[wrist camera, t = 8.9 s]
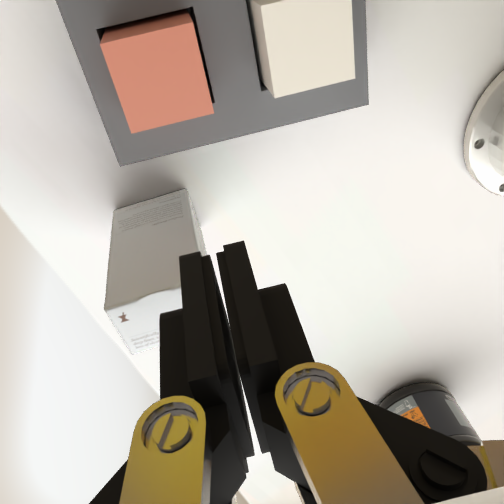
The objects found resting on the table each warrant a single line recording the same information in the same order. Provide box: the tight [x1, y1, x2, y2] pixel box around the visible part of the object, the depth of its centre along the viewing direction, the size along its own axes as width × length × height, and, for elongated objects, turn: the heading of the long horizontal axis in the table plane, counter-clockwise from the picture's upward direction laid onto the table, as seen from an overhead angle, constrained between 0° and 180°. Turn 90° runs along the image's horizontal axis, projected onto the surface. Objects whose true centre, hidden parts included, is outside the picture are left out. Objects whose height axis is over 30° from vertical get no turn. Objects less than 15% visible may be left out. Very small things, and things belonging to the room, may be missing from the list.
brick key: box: [100, 9, 214, 134], centre depth 26 cm, size 5×5×4 cm
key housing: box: [56, 0, 369, 166], centre depth 28 cm, size 16×10×5 cm, turn 100°
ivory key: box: [246, 0, 355, 98], centre depth 26 cm, size 5×5×4 cm
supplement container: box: [379, 383, 482, 446], centre depth 54 cm, size 10×10×12 cm
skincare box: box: [104, 189, 207, 355], centre depth 32 cm, size 6×4×12 cm
